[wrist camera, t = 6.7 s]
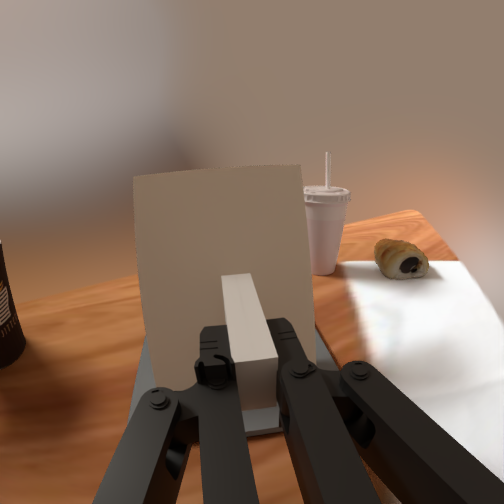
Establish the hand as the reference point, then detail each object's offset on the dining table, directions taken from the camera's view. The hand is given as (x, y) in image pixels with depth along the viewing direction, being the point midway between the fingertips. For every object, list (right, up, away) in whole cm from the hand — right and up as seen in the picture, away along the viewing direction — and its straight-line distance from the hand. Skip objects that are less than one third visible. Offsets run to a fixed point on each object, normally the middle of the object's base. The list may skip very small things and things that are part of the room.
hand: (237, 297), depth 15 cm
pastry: (+20, 0, +19) cm, 28 cm away
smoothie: (+9, 0, +20) cm, 22 cm away
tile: (0, -6, +2) cm, 6 cm away
